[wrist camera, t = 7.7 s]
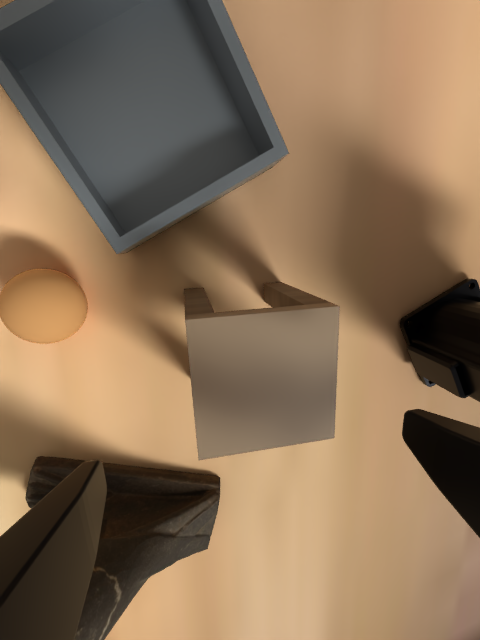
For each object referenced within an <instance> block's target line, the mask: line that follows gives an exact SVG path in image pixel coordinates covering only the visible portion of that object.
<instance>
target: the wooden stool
mask: <svg viewBox="0 0 480 640" xmlns="http://www.w3.org/2000/svg"><path fill="white" fill-rule="evenodd" d="M184 290H185V323H186V334H187V344H188V354H189V365H190V375H191V386H192V396H193V406H194V417H195V427H196V438H197V448H198V458H199V460H204V459H210V458H216V457H222V456H228V455H235V454H241V453H247V452H253V451H259V450H265V449H271V448H277V447H283V446H289V445H296V444H302V443H308V442H314V441H320V440H326V439H332V438H334V434H335V410H336V385H337V360H338V335H339V310H340V306H338V305H335V304H333V303H331V302H328V301H326V300H323V299H321V298H318V297H316V296H313V295H311V294H309V293H306V292H304V291H301V290H299V289H296V288H294V287H292V286H289V285H287V284H284V283H282V282H276V283H264V301H265V302H266V303H267V304H269V305H270V306H271V307H273V308H263V309H251V310H239V311H228V312H216V313H214V311H213V309H212V306H211V304H210V302H209V300H208V297H207V295H206V293H205V290H204V288H193V289H184Z"/></svg>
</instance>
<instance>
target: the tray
mask: <svg viewBox="0 0 480 640" xmlns="http://www.w3.org/2000/svg"><path fill="white" fill-rule="evenodd" d="M0 84H1V85H2V87H3V88H4V90H5V91H6V93H7V94H8V96H9V97H10V99H11V100H12V102H13V103H14V104H15V106H16V107H17V109H18V110H19V112H20V113H21V115H22V116H23V118H24V119H25V121H26V122H27V123H28V125H29V126H30V128H31V129H32V131H33V132H34V134H35V135H36V137H37V138H38V140H39V141H40V142H41V144H42V145H43V147H44V148H45V150H46V151H47V153H48V154H49V156H50V157H51V159H52V160H53V161H54V163H55V164H56V166H57V167H58V169H59V170H60V172H61V173H62V175H63V176H64V178H65V179H66V180H67V182H68V183H69V185H70V186H71V188H72V189H73V191H74V192H75V194H76V195H77V197H78V198H79V199H80V201H81V202H82V204H83V205H84V207H85V208H86V210H87V211H88V213H89V214H90V216H91V217H92V218H93V220H94V221H95V223H96V224H97V226H98V227H99V229H100V230H101V232H102V233H103V235H104V236H105V237H106V239H107V240H108V242H109V243H110V245H111V246H112V248H113V249H114V251H115V252H116V254H119V253H125V252H128V251H130V250H132V249H133V248H135V247H137V246H139V245H140V244H142V243H144V242H145V241H147V240H149V239H151V238H152V237H154V236H156V235H157V234H159V233H161V232H162V231H164V230H166V229H168V228H169V227H171V226H173V225H174V224H176V223H178V222H179V221H181V220H183V219H185V218H186V217H188V216H190V215H191V214H193V213H195V212H197V211H198V210H200V209H202V208H203V207H205V206H207V205H208V204H210V203H212V202H214V201H215V200H217V199H219V198H220V197H222V196H224V195H226V194H227V193H229V192H231V191H232V190H234V189H236V188H237V187H239V186H241V185H243V184H244V183H246V182H248V181H249V180H251V179H253V178H255V177H256V176H258V175H260V174H261V173H263V172H265V171H266V170H268V169H270V168H272V167H273V166H274V165H275V164H277V163H278V162H279V161H280V160H281V159H283V158H284V157H285V156H286V155H287V154H289V152H288V150H287V147H286V145H285V143H284V141H283V138H282V136H281V134H280V131H279V129H278V127H277V125H276V122H275V120H274V118H273V116H272V113H271V111H270V109H269V106H268V104H267V102H266V100H265V97H264V95H263V93H262V90H261V88H260V86H259V84H258V81H257V79H256V77H255V75H254V72H253V70H252V68H251V65H250V63H249V61H248V59H247V56H246V54H245V52H244V49H243V47H242V45H241V43H240V40H239V38H238V36H237V34H236V31H235V29H234V27H233V24H232V22H231V20H230V18H229V15H228V13H227V11H226V8H225V6H224V4H223V2H222V0H14V1H13V2H11V3H9V4H7V5H5V6H4V7H2V8H0Z"/></svg>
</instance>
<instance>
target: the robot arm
mask: <svg viewBox="0 0 480 640" xmlns="http://www.w3.org/2000/svg"><path fill="white" fill-rule="evenodd" d="M469 285H470V287H469ZM408 321H409V324H408V325H407V322H408ZM400 327H401V329H402V332H403V335H404V337H405V340H406V342H407V345H408V352H409V355H410V357H411V360H412V362H413V365H414V367H415V370H416V372H417V374H419V375H420V377H421V380H422V382H423V384H425V385H427V386H429V387H432V386H434V385H435V384H437V385H439V386H440V387H442V388H444V389H446V390H447V391H449V392H451V393H453V394H455V395H456V396H458V397H461V398H466V397H468V396H470V397H472V398H473V399H475V400H477V401H479V402H480V289H479V285H478V282H477V280H475V279H466V280H464V281H462V282H461V283H459V284H457V285H456V286H454V287H453V288H451V289H449V290H448V291H446V292H444V293H443V294H441V295H439V296H438V297H436V298H435V299H433V300H431V301H430V302H428V303H426V304H425V305H423V306H421V307H420V308H418V309H417V310H415V311H413V312H412V313H410V314H408V315H407V316H405V317H404V318H402V319H401V321H400ZM402 436H403V439H404V441H405V443H406V444H407V446H408V447H409V449H410V450H411V451H412V453H413V454H414V456H415V457H416V459H417V460H418V461H419V463H420V464H421V466H422V467H423V468H424V470H425V471H426V473H427V474H428V475H429V477H430V478H431V480H432V481H433V482H434V484H435V485H436V486H437V488H438V489H439V490H440V491H441V493H442V494H443V495H444V496H445V497H446V499H447V500H448V501H449V502H450V503H451V505H452V506H453V507H454V508H455V509H456V510H457V512H458V513H459V514H460V515H461V516H462V518H463V519H464V520H465V521H466V522H467V524H468V525H469V526H470V527H471V528H472V529H473V531H474V532H475V533H476V534H477V535H478V537H479V538H480V428H479V427H476V426H473V425H469V424H466V423H463V422H460V421H456V420H453V419H450V418H447V417H444V416H440V415H437V414H434V413H431V412H427V411H424V410H421V409H414V410H408V411H406V412H405V414H404V421H403V430H402ZM106 494H107V485H106V479H105V474H104V469H103V464H102V461H101V460H99V459H98V460H91V461H85V462H83V463H82V464H81V465H80V466H78V467H77V468H76V469H75V470H74V471H73V472H72V473H71V474H70V475H68V476H67V477H66V478H65V479H64V480H63V481H62V482H61V483H60V484H58V485H57V486H56V487H55V488H54V489H53V490H52V491H51V492H49V493H48V494H47V495H46V496H45V497H44V498H43V499H42V500H41V501H39V502H38V503H37V504H36V505H35V506H34V507H33V508H32V509H30V510H29V511H28V512H27V513H26V514H25V515H24V516H23V517H22V518H20V519H19V520H18V521H17V522H16V523H15V524H14V525H13V526H12V527H10V528H9V529H8V530H7V531H6V532H5V533H4V534H3V535H1V536H0V640H74V638H75V635H76V631H77V627H78V624H79V620H80V616H81V613H82V609H83V605H84V601H85V598H86V594H87V590H88V587H89V583H90V579H91V575H92V572H93V568H94V564H95V560H96V555H97V549H98V543H99V537H100V531H101V525H102V519H103V513H104V507H105V501H106Z"/></svg>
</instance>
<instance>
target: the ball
mask: <svg viewBox="0 0 480 640" xmlns="http://www.w3.org/2000/svg"><path fill="white" fill-rule="evenodd" d="M87 310H88V303H87V299H86V296H85V293H84V291H83V290H82V288H81V287H80V285H79V284H78V283H77V282H76V281H75V280H74V279H72V278H71V277H70V276H68V275H66V274H64V273H62V272H59V271H56V270H52V269H32V270H28V271H25V272H22V273H20V274H18V275H16V276H15V277H13V278H12V279H11V280H10V281H9V282H7V284H6V285H5V286H4V288H3V289H2V291H1V294H0V317H1V319H2V321H3V323H4V325H5V326H6V327H7V328H8V329H9V330H10V331H11V332H12V333H13V334H14V335H16V336H18V337H19V338H21V339H23V340H26V341H29V342H33V343H39V344H49V343H55V342H59V341H62V340H65V339H67V338H69V337H70V336H72V335H73V334H74V333H76V332H77V331H78V330H79V328H80V327H81V326H82V324H83V323H84V321H85V318H86V315H87Z"/></svg>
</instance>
